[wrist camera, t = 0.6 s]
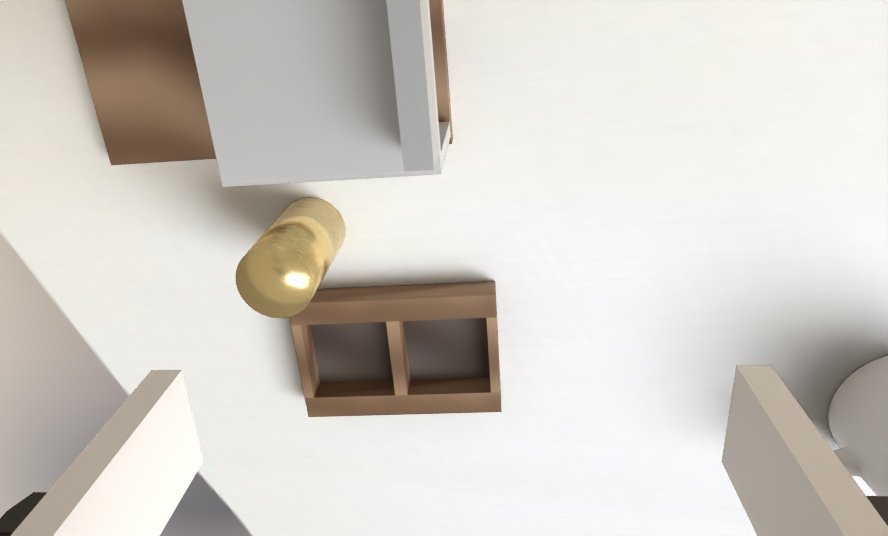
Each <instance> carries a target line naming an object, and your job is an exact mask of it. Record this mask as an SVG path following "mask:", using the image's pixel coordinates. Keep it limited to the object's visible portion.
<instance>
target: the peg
mask: <svg viewBox="0 0 888 536" xmlns="http://www.w3.org/2000/svg"><path fill="white" fill-rule="evenodd" d="M344 238H345V224H344V221H343V218H342V216H341V215H340V213H339V212H338V210H337V209H336V208H335V207H334V206H332V205H331V204H330V203H328V202H326V201H324V200H321V199H318V198H303V199H299V200H297V201H295V202H293V203H292V204H291V205H290V206H289V207H288V208H287V209H286V210H285V211H284V212H283V213H282V214H281V216H280V217H279V218H278V219H277V220H276V221H275V222H274V223H273V224H272V226H271V227H270V228H269V229H268V230H267V231H266V232H265V233H264V235H263V236H262V237H261V238H260V239H259V240H258V241H257V242H256V243H255V245H254V246H253V247H252V248H251V249H250V250H249V251H248V252H247V254H246V255H245V256H244V257H243V258H242V259H241V261H240V262H239V264H238V267H237V270H236V285H237V288H238V291H239V293H240V295H241V297H242V298H243V300H244V301H245V302H246V303H247V304H248V305H249V306H250V307H251V308H252V309H254V310H255V311H257V312H259V313H261V314H263V315H266V316H269V317H274V318H286V317H290V316H293V315H296V314H298V313H300V312H301V311H302V310H304V309H305V308H306V307H307V305H308V304H309V302H310V301H311V299H312V297H313V295H314V293H315V292H316V290H317V288H318V286H319V285H320V283H321V281H322V279H323V277H324V276H325V274H326V272H327V270H328V269H329V267H330V265H331V263H332V261H333V260H334V258H335V256H336V254H337V253H338V251H339V249H340V247H341V245H342V244H343V241H344Z"/></svg>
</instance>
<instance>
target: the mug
mask: <svg viewBox="0 0 888 536" xmlns="http://www.w3.org/2000/svg"><path fill="white" fill-rule="evenodd" d="M828 421H829V427H830V430H831V433H832V435H833V437H834V439H835V441H836V442H837V444H838V445H839V447H840V448H841V449H838V450H835V451H834V453H835V454H836V456H837V457H838V458H839V460H840V461H841V462H842V464H843V465H844V467H845V468H846V469H847V471H848V472H849V473H850V475H851V476H860V477H861V478H862V479H863V480H864V481H865V482H866V483H867V484H868V486H869V487H870V488H871V489H872V490H873V491H874V493H875V494H876V495H877V496H888V356H884V357H881V358H878V359H876V360H873V361H871V362H869V363H867V364H865V365H864V366H862V367H860V368H859V369H857V370H856V371H855V372H853V373H852V374H851V375H850V376H849V377H848V378H846V379H845V380H844V382H843V383H842V384H841V385H840V386H839V388H838V389H837V391H836V392H835V394H834V396H833V399H832V401H831V404H830V407H829V413H828Z"/></svg>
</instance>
